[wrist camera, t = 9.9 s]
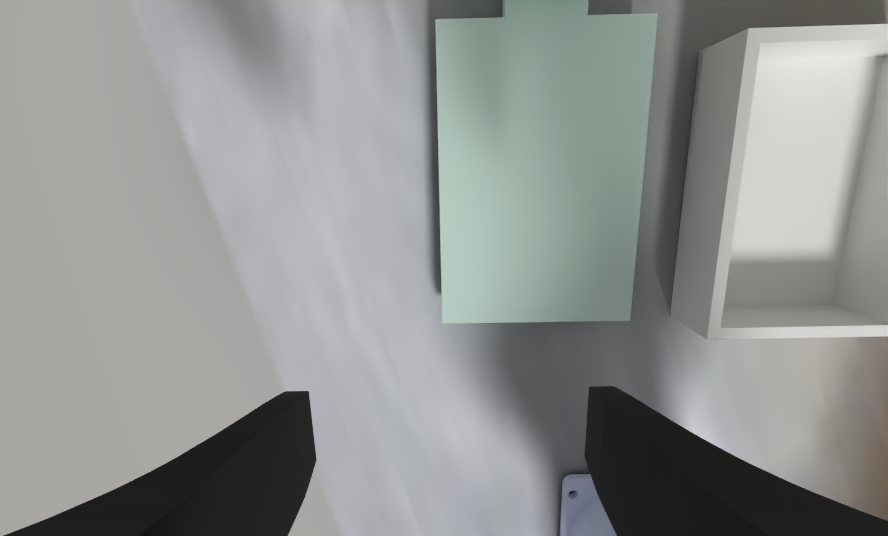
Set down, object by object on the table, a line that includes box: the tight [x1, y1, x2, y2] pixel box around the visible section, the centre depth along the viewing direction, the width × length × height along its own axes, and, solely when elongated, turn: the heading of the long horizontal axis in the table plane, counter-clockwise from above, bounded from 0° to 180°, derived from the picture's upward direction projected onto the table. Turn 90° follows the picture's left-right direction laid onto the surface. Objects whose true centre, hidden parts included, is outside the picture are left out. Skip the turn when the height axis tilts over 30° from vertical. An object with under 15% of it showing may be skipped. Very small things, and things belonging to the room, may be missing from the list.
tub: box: [670, 24, 888, 339], centre depth 18 cm, size 12×8×3 cm, turn 1°
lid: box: [435, 0, 658, 324], centre depth 16 cm, size 17×9×4 cm, turn 1°
